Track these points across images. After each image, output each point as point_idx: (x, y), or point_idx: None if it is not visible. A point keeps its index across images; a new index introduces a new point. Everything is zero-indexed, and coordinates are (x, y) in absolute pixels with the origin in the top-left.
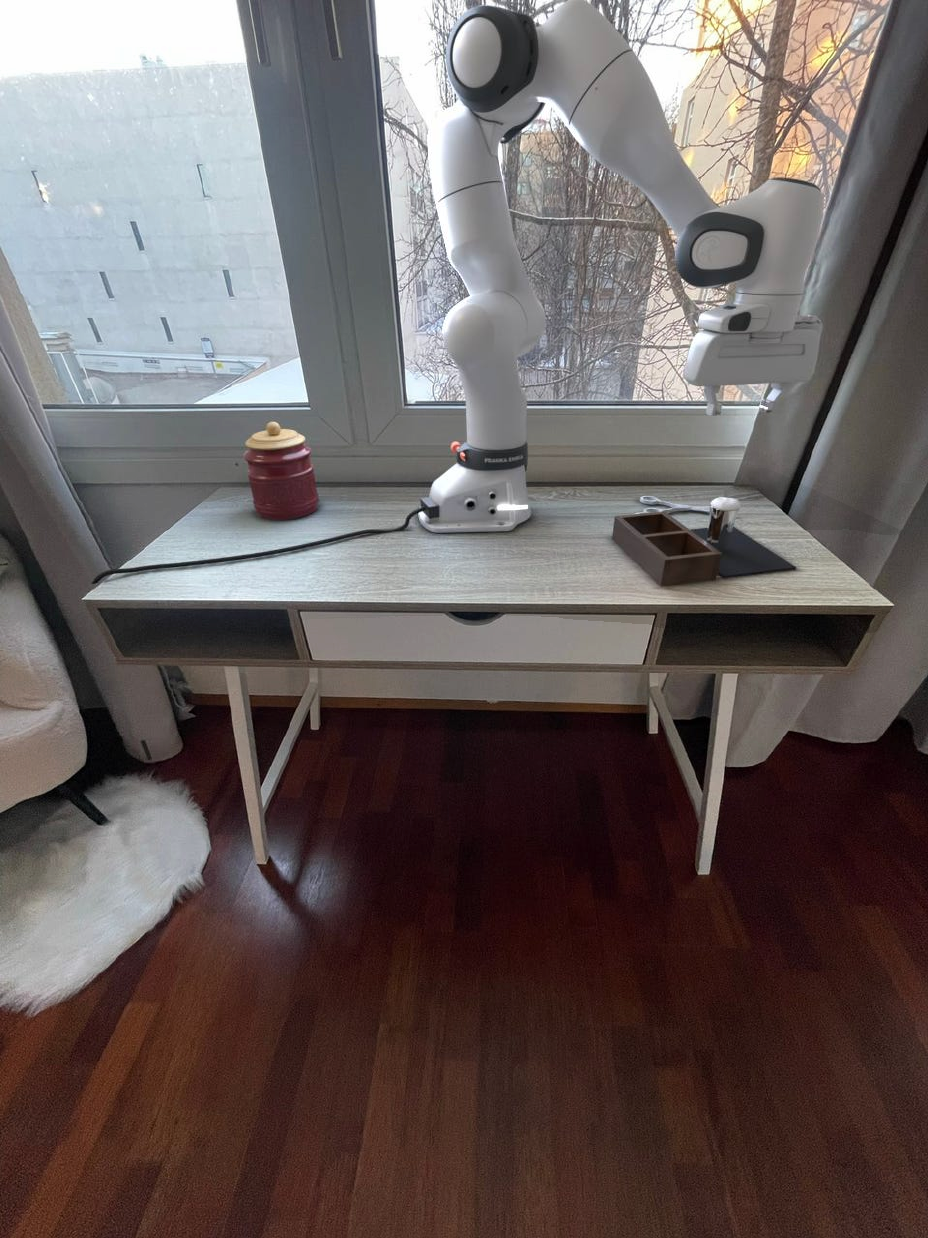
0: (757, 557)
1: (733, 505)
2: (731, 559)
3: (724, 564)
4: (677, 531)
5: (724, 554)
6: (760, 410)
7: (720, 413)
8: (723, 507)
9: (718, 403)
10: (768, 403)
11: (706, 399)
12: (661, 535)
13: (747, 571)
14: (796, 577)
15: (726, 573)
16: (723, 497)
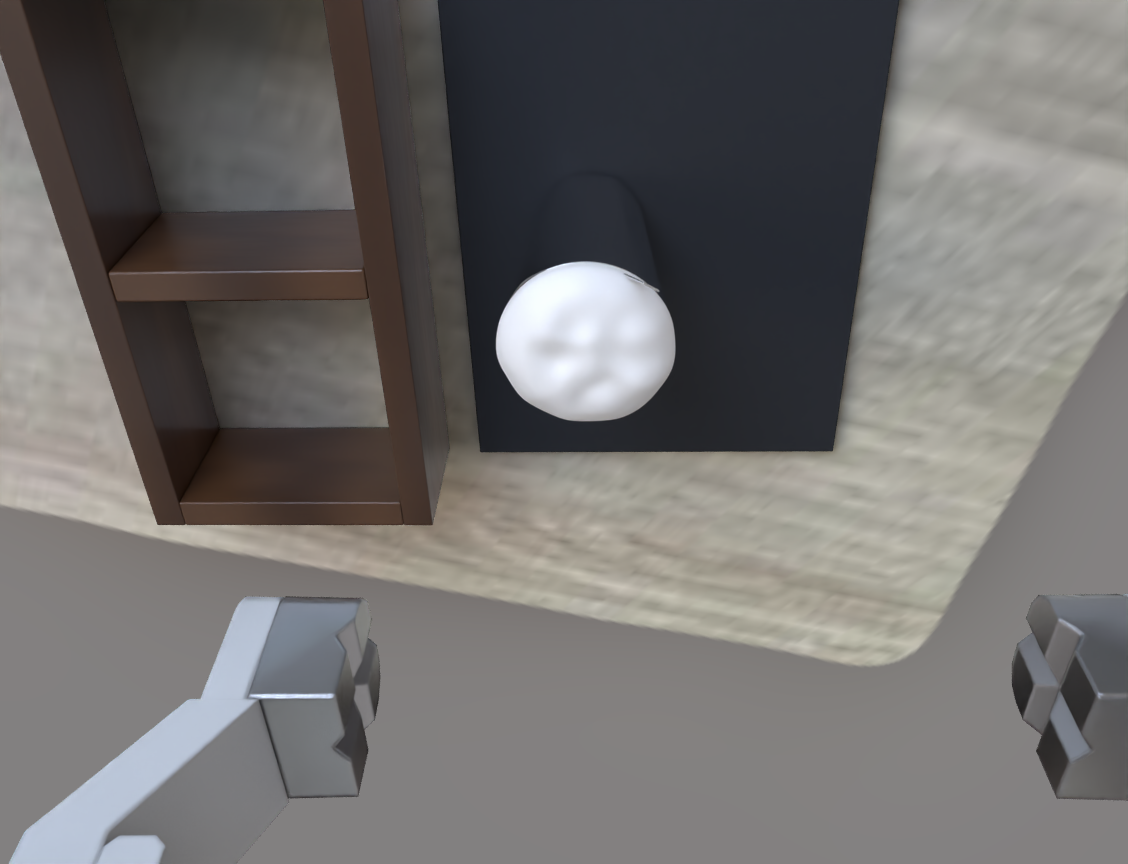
0: (736, 343)
1: (591, 418)
2: None
3: None
4: (317, 278)
5: None
6: (1033, 612)
7: (377, 701)
8: (532, 404)
9: (321, 763)
10: (1054, 778)
11: (155, 726)
12: (214, 300)
13: (601, 441)
14: (779, 495)
15: (504, 436)
16: (590, 324)
